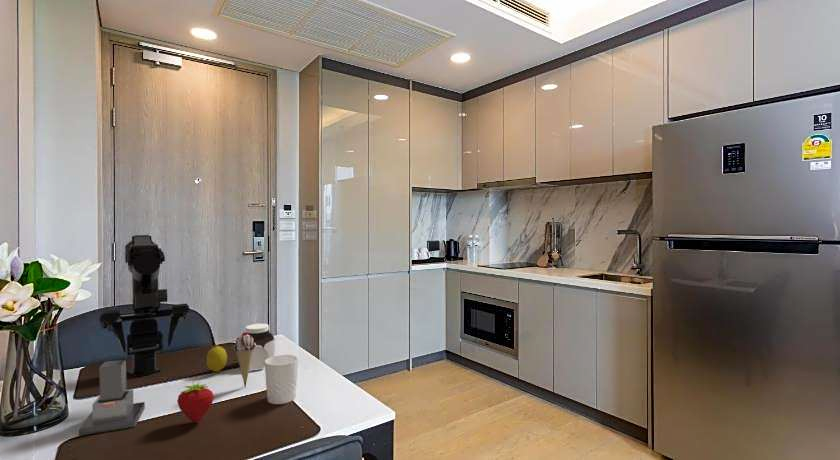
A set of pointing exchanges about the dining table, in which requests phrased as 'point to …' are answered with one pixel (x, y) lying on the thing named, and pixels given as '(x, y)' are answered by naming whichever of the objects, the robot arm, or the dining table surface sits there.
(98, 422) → the jack stand base
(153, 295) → the robot arm
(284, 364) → the white cup
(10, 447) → the dining table surface
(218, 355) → the lemon
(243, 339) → the ice cream cone
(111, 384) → the jack column
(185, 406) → the strawberry
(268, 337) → the spread jar
